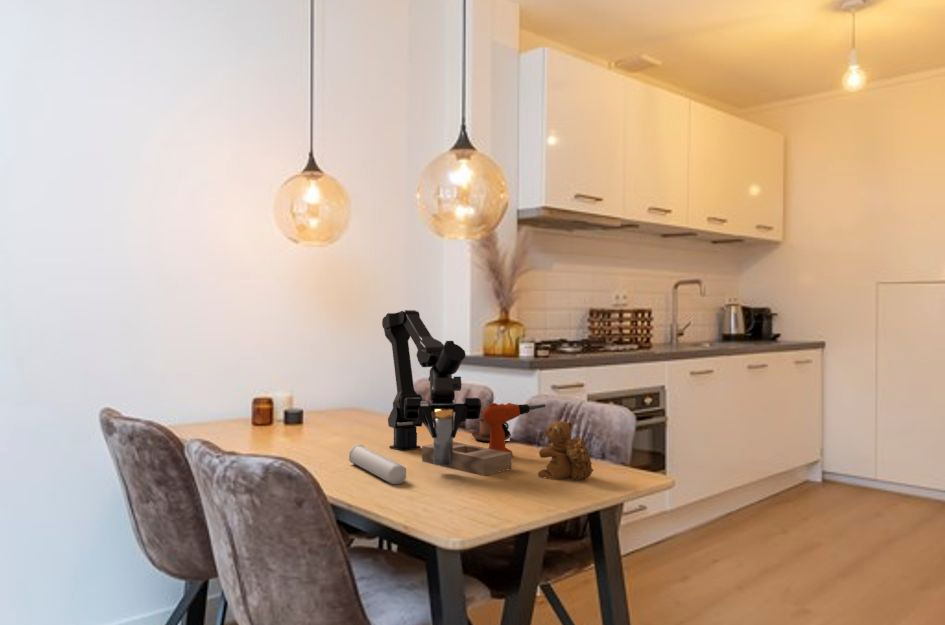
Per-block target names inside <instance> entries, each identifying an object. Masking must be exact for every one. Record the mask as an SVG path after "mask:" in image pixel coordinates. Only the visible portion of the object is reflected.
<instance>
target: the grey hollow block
mask: <svg viewBox="0 0 945 625" xmlns="http://www.w3.org/2000/svg"><path fill="white" fill-rule="evenodd" d="M421 447H422V448H421V462H424V463H428V464H432V465H435V464H434V443H431V444H425V445H422V446H421ZM488 448H489V447H484V446H483V447H482V446H478V445H477V446H476V445H473V444H468V443H461V442H457V441H453V464H451V465H446V466H444V467H445V468H449V469H454V470H459V471H462V472H466V471H467V473H471V474H474V475H475V474H476V475H478V476H479V475H480V476H484V475H485V476H488V474H489V475H493V474H497V473H500V472H499V471H501V472H504V471H503V470H505V471H508V470H507V469H510V470H512V458H513V454H512V453H513V452H512V453H509V452H504V451H499V450H493V449H488ZM439 466H440V467H441V465H439ZM496 472H497V473H496ZM492 473H493V474H492Z"/></svg>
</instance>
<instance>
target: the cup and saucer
mask: <svg viewBox="0 0 945 625" xmlns="http://www.w3.org/2000/svg"><path fill="white" fill-rule="evenodd" d="M503 424H505V425H506V427H507V429H508V430H509V428H510V427H509V426H510V425H509V423H508V421H507V422H505V423H503ZM471 437H473V439H475V440H478V441H482V442H486V443H487V442H489V443H490V427H489V425H488V424H487V423H486V422H485V421H484V419H483V418H481V419H479V431H474V432H472V433H471ZM511 437H512V434H511V433H510V434H509V435H508V436H507V437H506V438H505V441H506V440H508V439H510V438H511Z"/></svg>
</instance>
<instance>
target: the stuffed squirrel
mask: <svg viewBox="0 0 945 625" xmlns="http://www.w3.org/2000/svg"><path fill="white" fill-rule="evenodd" d="M573 425H574V423H573V422H572V421H568V422H566V421H563V420H557V421H554V422H551V423H550V424H549V425H548V426H547V427H546V430H545V431H544V433H543V436H542V438H543V440H546V437H547V439H548V440H549V441H551V442H550V443H548V444H547V447H542V448H540V450H539V452H538V453H539V457H540V458H542V459H543V458H551V459H550V461H548V462H549V463H548V464H547V465H546V466H545V468H546V469H545V468H544V469H541V470H539V471H538V474H537V475H538V477H540V476H541V477H540V478H543V477H546V478H545V479H549V478H551V479H550V480H567V479H568V478H569V479H570V480H572V481H578V480H579V481H581V480H586V479H588V478H589V477H591V475H592V473H593V472H594V471H595V470H594V469H593V468H592V461H591V457H590V455H589V454H590V452H589V450H588V449H587V447H586V444H585V443H584V439H582V438H579V437H573V438H571V437H572V436H571V429H572V427H573Z"/></svg>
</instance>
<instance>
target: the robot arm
mask: <svg viewBox="0 0 945 625" xmlns="http://www.w3.org/2000/svg"><path fill="white" fill-rule="evenodd" d="M420 315H421V314H420V312H419V311H418V310H413V309H412V310H411V309H408V310H407V309H404V310H403V309H402V310H401V311H398V312H388V313H387V314H385V316H384V317H383V318H382V321H381V324H382V328H383V332H384V336H385V337H386V339H387V340H388V341H389V343H390V344H391V348H392V357H393V367H394V374H395V376H394V377H395V384H396V391H397V392H396V395H395V396H394V397H395V398H394V400H393V401H392V409H391V412H390V414H389V416H388V418H387V424H388V427H390V428H392V429H393V445H389V447H388V448H390V449H394V450H398V451H403V452H405V451H410V450H415V449H420V448H421V445H419V444H418V432H417V427H422V426H423V425H424V427H425V428H426V430H428V433H429V434H430V436H431V438H432V439H434V419H433V415H432V413H434V409H436V408H451V409H453V413H454V416H453V439H455V438H456V435H457V434H458V430H459V427H460V426H461V424H462V423H464V422H466V421H467V420H478V419H479V418H480V415H481V410H482V400H481V399H480V398H479V397H464V402H463V403H456V402H454V401H455V398H456V395H455V391H456V392H458V391H459V392H460V391H461V390H462V377H461V376H453V375H454V374H456V373H457V372H458V370H459V368H460V367H461V364H462V363H463V362H464V359H465V357H466V351H465V349H463V348H462V346H460V345H458V344H456V343H455V342H454V340H445V342H444V344H443V342H442V341H440V340H438V339H436V338H434V337H433V335H432V334H431V333H430V331H429V330H428V328H427V326H426V325H425V323H424V322H423V320H422V318H421V316H420ZM410 338H411V340H412V342H413V343H414V346H416V349H417V351H416V355H415V356H416V357H417V361H418V363H419V366H421V368H430V369H429V376H428V378H427V380H428V381H429V389H430V390H429V391H430V401H429V400H426V401H425V400H423V397H422V395H421V394H420V393H417V392H416V390H415V388H414V379H413V372H412V371H413V370H412V361H411V354H410V346H409V340H410Z"/></svg>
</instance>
